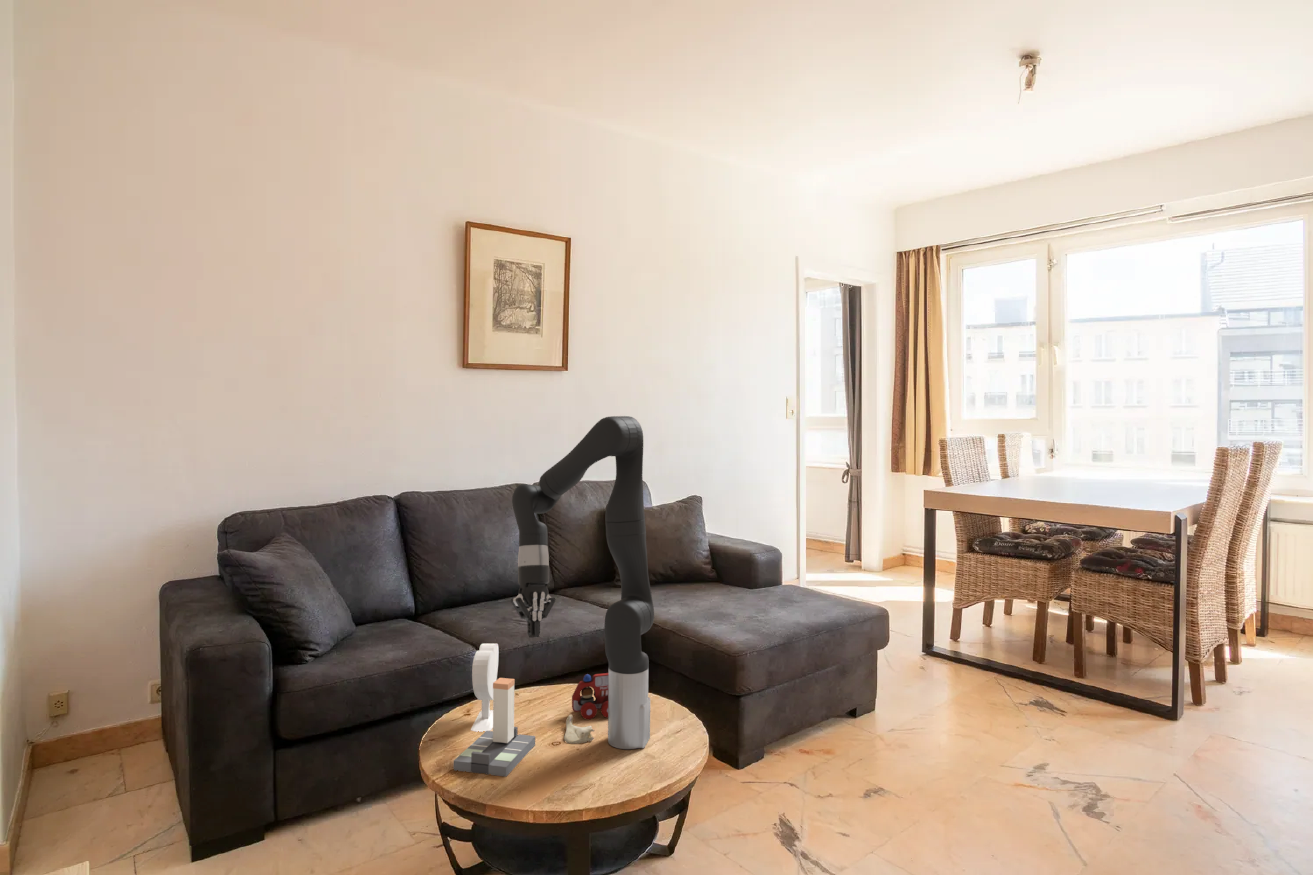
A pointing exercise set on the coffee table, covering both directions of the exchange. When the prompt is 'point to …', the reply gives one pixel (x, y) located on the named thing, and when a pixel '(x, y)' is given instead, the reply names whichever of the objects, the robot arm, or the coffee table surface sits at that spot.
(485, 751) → the console
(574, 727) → the fossil
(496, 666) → the heart sculpture
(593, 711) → the toy fire truck
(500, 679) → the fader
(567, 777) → the coffee table surface
